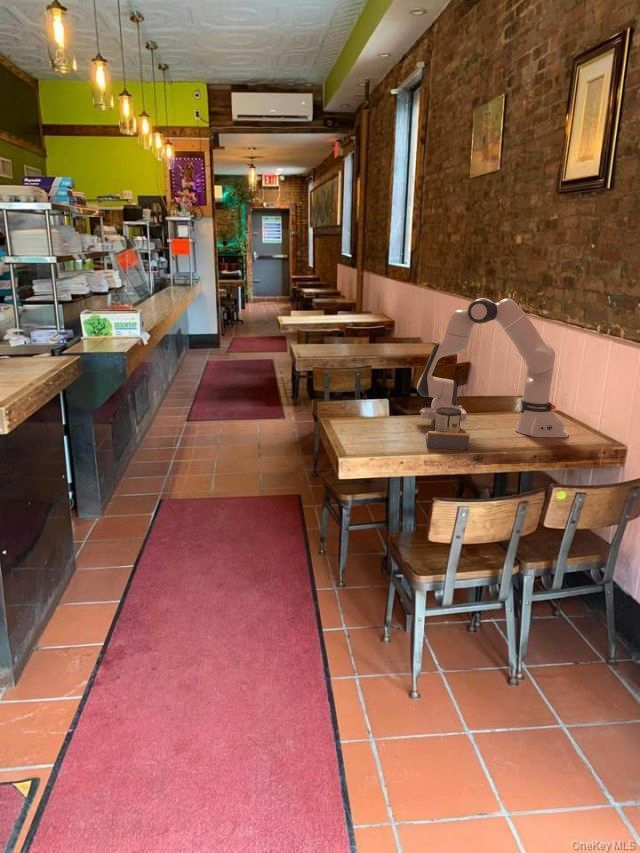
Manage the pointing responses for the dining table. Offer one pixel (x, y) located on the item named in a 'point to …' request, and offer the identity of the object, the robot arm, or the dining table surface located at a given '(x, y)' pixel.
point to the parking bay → (447, 440)
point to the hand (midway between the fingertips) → (444, 418)
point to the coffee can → (448, 420)
